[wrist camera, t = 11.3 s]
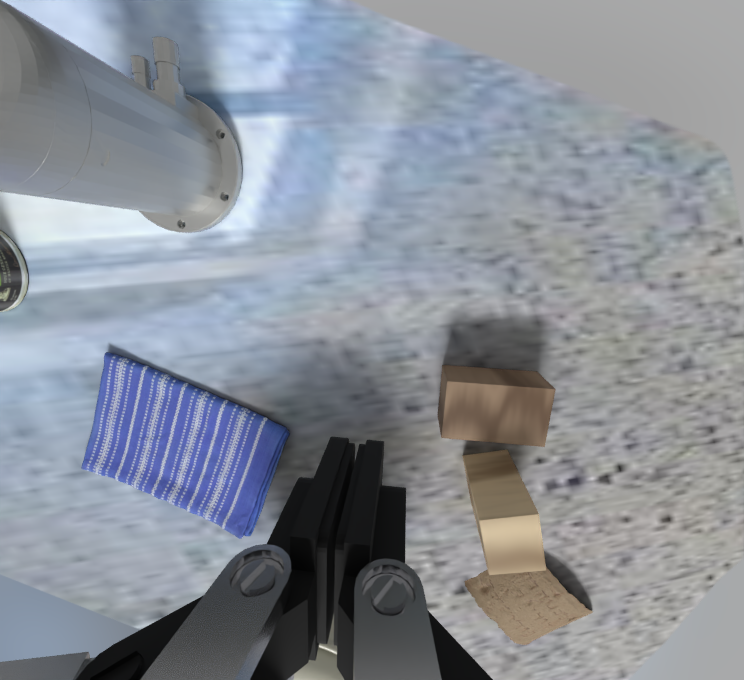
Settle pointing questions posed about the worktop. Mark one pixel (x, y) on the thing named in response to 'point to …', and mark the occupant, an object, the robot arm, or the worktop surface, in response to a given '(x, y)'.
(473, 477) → the oak block
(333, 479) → the robot arm
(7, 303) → the coffee can
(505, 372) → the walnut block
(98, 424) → the dish towel
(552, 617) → the clay tablet
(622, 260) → the worktop surface
